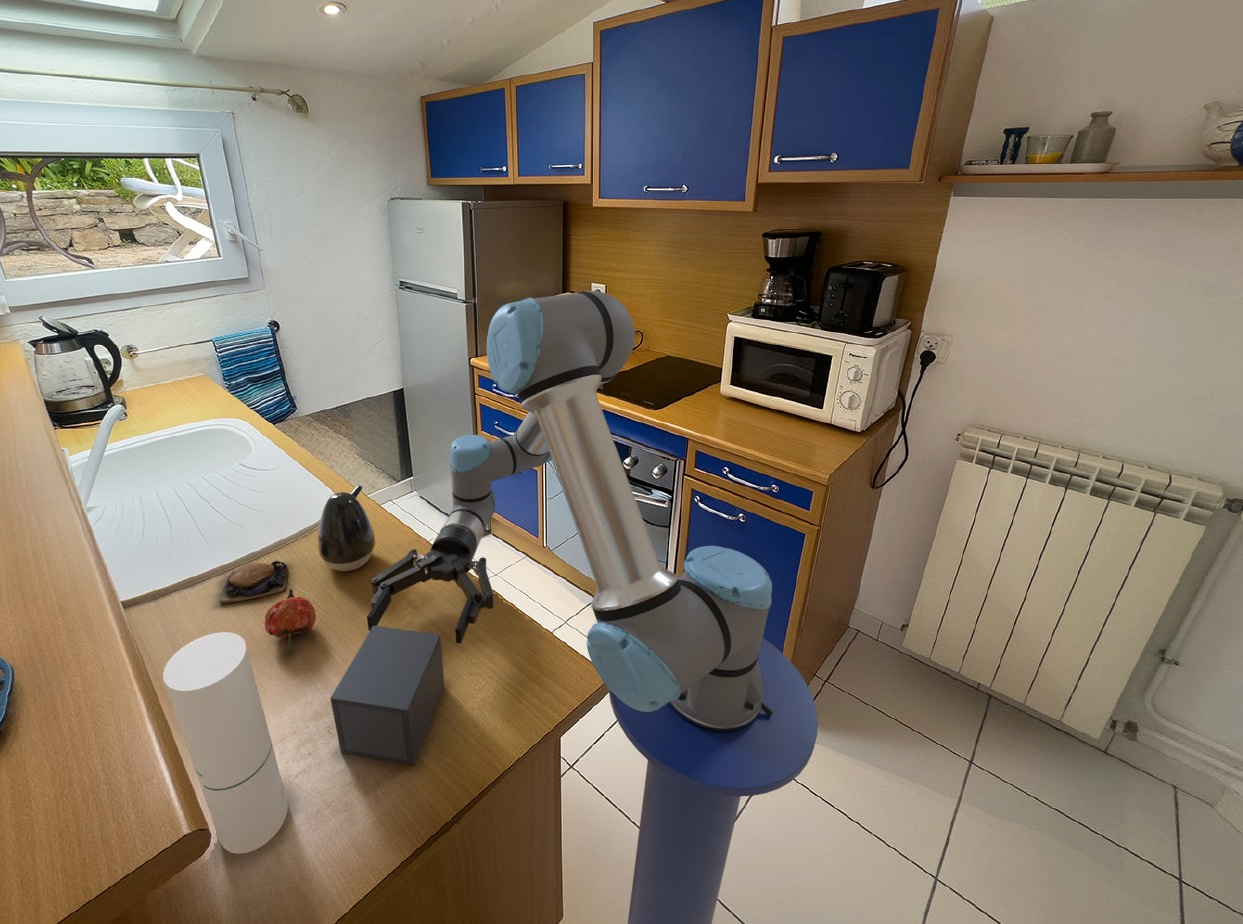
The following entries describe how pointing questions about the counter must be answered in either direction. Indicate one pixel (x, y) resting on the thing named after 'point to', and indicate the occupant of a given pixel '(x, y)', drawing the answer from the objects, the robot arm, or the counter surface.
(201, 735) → the cylindrical container
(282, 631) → the pomegranate
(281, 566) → the bread roll
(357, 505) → the pump dispenser
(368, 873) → the counter surface
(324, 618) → the counter surface
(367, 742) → the dark grey box
